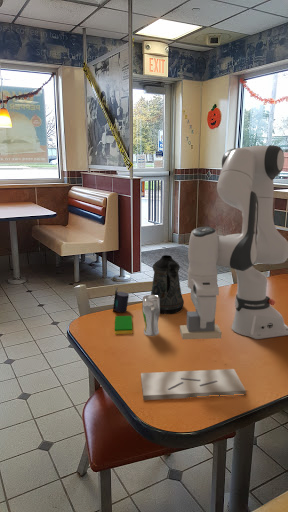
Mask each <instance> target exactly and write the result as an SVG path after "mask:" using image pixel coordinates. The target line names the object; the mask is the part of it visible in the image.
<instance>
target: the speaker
mask: <svg viewBox="0 0 288 512" xmlns="http://www.w3.org/2000/svg"><path fill="white" fill-rule="evenodd" d="M118 288H119V287H118V286H116V288H115V291H114V292H115V293H114V301H113V309H112V312H113V313H114V311H116V312H117V313H122V314H123V313H126V312H127V309H128V304H129V298H130V297H129V296H130V295H129V293H127V292H125V291H118Z"/></svg>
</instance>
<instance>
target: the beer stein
mask: <svg viewBox="0 0 288 512" xmlns="http://www.w3.org/2000/svg"><path fill="white" fill-rule="evenodd" d="M180 268H181V266H180V264H179V263H178V262H177V261H176V260H175V259H173V257H172V256H171V255H170V254H165V255H161V258H159V260H157V261H155V263H154V264H152V270H153V278H152V286H151V292H150V295H157V296H159V299H160V314H159V315H173V314H179V313H180V312H181V311H182V310H184V309H183V308H184V303H185V300H184V297H183V294H182V288H181V283H180V276H179V271H180Z"/></svg>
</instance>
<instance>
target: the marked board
mask: <svg viewBox="0 0 288 512" xmlns="http://www.w3.org/2000/svg"><path fill="white" fill-rule="evenodd" d="M140 379H141V380H140V383H141V390H142V398H143V399H142V400H143V401H150V400H152V401H153V400H154V401H155V400H172V399H173V400H174V399H175V400H177V399H191V398H190V397H197V396H209V395H219V396H218V397H221V396H220V395H234V394H246V392H247V390H246V388H245V386H244V385H243V383H242V381H241V380H240V377H239V376H238V373H237V372H236V370H235V369H234V368H226V369H223V368H222V369H204V370H183V371H182V370H181V371H179V370H178V371H161V372H158V371H157V372H141V373H140ZM246 395H247V394H246ZM188 397H189V398H188ZM197 398H198V397H197Z"/></svg>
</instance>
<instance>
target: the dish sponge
mask: <svg viewBox="0 0 288 512" xmlns="http://www.w3.org/2000/svg"><path fill="white" fill-rule="evenodd" d="M132 316H133V315H116V316H115V317H114V335H127V334H128V335H130V334H131V335H132V334H133V317H132Z"/></svg>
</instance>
